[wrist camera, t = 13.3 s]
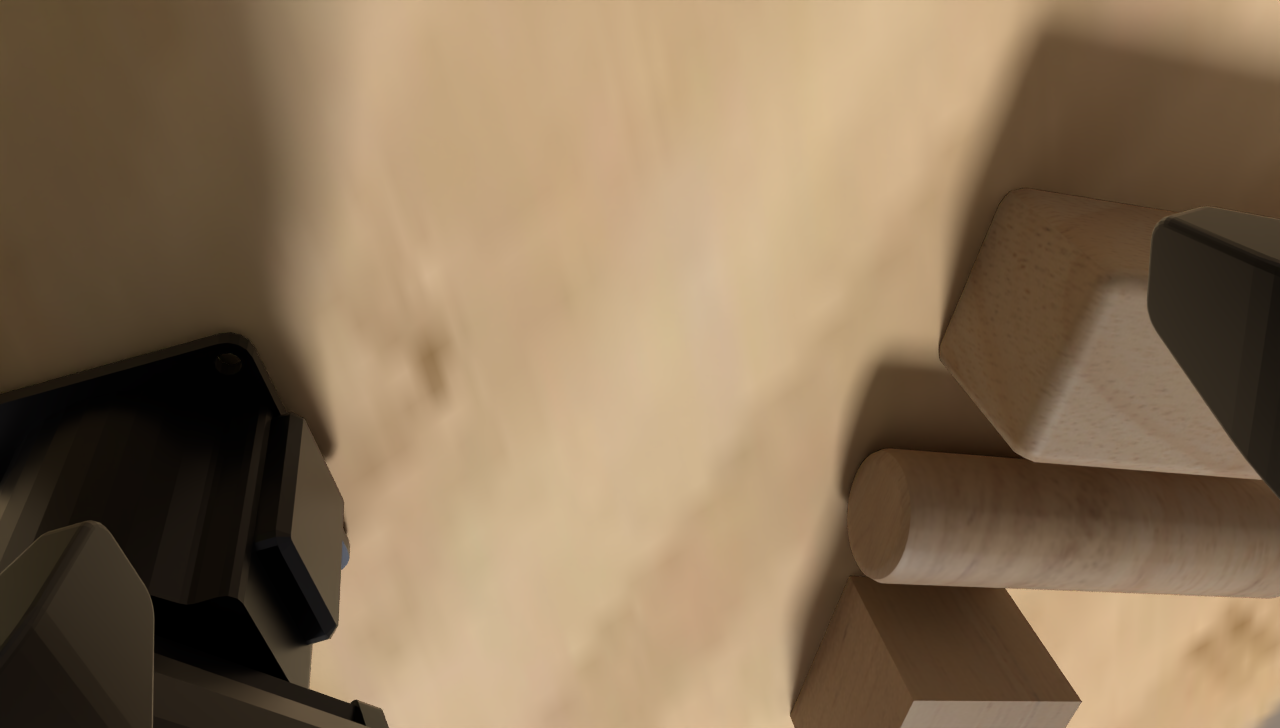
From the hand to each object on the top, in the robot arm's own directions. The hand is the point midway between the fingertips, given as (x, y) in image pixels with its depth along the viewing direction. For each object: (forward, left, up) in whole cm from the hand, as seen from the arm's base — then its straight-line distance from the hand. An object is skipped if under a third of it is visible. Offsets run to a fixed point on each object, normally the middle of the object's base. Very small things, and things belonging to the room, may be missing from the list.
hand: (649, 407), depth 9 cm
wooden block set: (+13, -18, -14) cm, 26 cm away
